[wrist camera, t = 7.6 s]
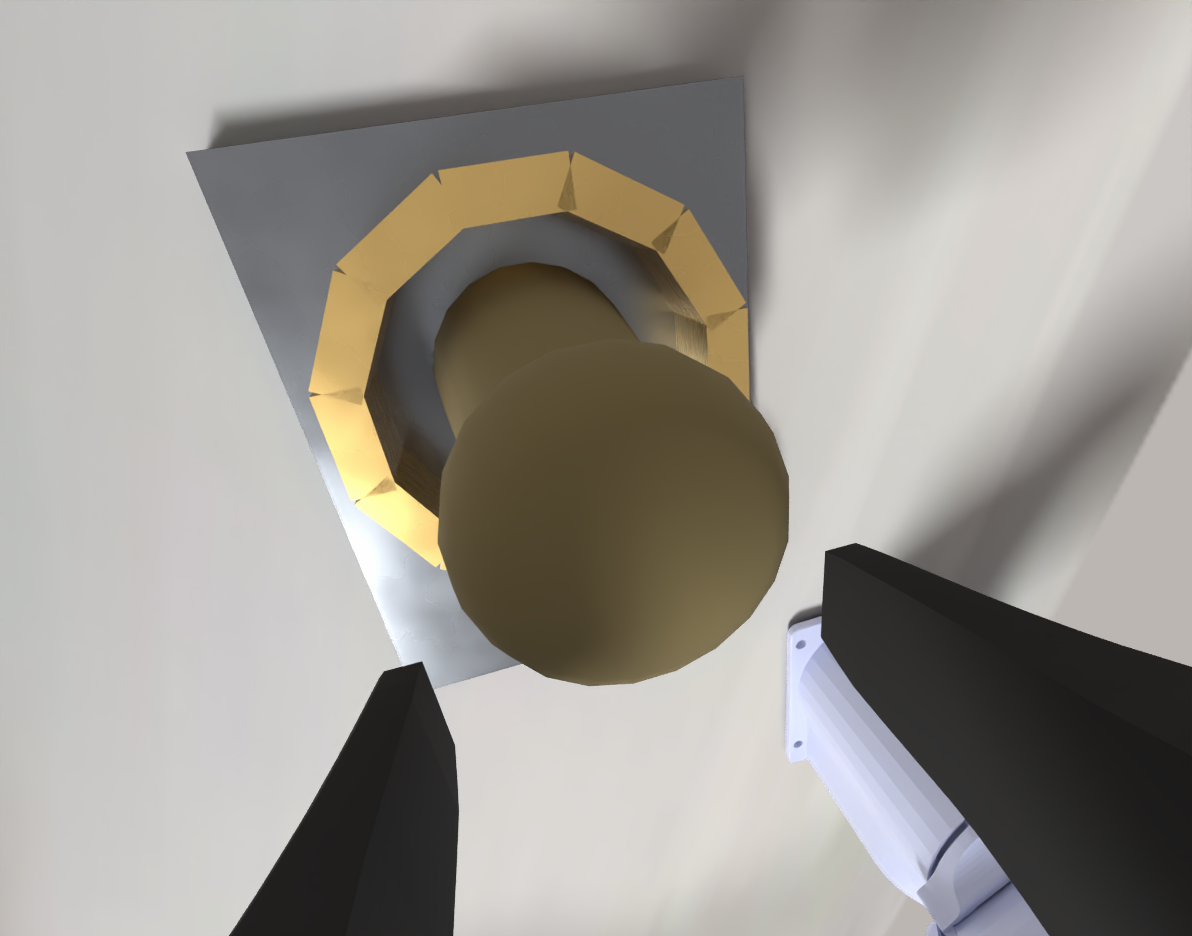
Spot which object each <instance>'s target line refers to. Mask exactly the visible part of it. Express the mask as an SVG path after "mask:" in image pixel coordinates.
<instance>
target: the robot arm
mask: <svg viewBox="0 0 1192 936" xmlns="http://www.w3.org/2000/svg"><path fill="white" fill-rule="evenodd" d="M786 756H787V758H788V760H789V761H790V762H793V763H796V762H800V761H803V760H806V759H808V760H809V762H810V763H811V765H812V766H813V768H814V769H815V771H816V772H817V774H818V776H819V777H820V779H821V780H822V782H823V783H824V785H825V786H826V788H827V789H828V791H829V792H830V794H831V796H832V797H833V799H834V800H835V802H836V803H837V805H838V806H839V808H840V809H841V811H842V812H843V814H844V816H845V817H846V819H847V820H848V822H849V823H850V825H851V826H852V828H853V829H854V831H855V832H856V834H857V835H858V837H859V839H860V840H861V842H862V843H863V845H864V846H865V848H866V849H867V851H868V852H869V854H870V855H871V857H872V859H873V860H874V862H875V863H876V865H877V866H878V867H879V868H880V870H881V871H882V872H883V874H884V875H885V876H886V877H887V878H888V879H889V880H890V881H891V882H892V883H893V884H894V885H895V886H896V887H897V888H899V889H900V890H901V891H902V892H904V893H905V894H906V895H908V896H909V897H911V898H912V899H914V900H915V901H917V902H918V903H920V904H922V905H924V906H925V907H926V909H927V910H928V912H929V913H930V915H931V916H932V917H933V919H934V920H935V921H934V922H932V923H931V924H930V925H929V926H928V928H927V930H926V936H1192V667H1190V666H1187V665H1184V664H1180V663H1177V662H1174V661H1171V660H1167V659H1164V658H1161V657H1157V656H1155V655H1151V654H1148V653H1145V652H1142V651H1138V650H1135V649H1132V648H1129V647H1125V646H1122V645H1119V644H1116V643H1113V642H1110V641H1107V640H1104V639H1101V638H1098V637H1095V636H1093V635H1090V634H1087V633H1084V632H1081V631H1078V630H1076V629H1073V628H1070V627H1067V626H1064V625H1061V624H1059V623H1056V622H1054V621H1051V620H1048V619H1045V618H1043V617H1040V616H1037V615H1034V614H1032V613H1029V612H1027V611H1024V610H1021V609H1019V608H1016V607H1014V606H1011V605H1008V604H1006V603H1003V602H1001V601H998V600H996V599H993V598H991V597H988V596H986V595H983V594H981V593H978V592H976V591H973V590H971V589H969V588H966V587H964V586H961V585H959V584H956V583H954V582H952V581H949V580H947V579H944V578H942V577H940V576H937V575H935V574H932V573H930V572H928V571H925V570H923V569H920V568H918V567H916V566H913V565H911V564H908V563H906V562H904V561H901V560H899V559H896V558H894V557H891V556H889V555H886V554H884V553H881V552H879V551H876V550H874V549H871V548H868V547H866V546H863V545H860V544H857V543H854V544H850V545H847V546H843V547H839V548H836V549H832V550H828V551H825V566H824V584H823V602H822V616H820V617H817V618H813V619H810V620H807V621H803V622H800V623H797V624H794V625H793V626H792V627H790V629H789V630H788V634H787V690H786ZM458 820H459V804H458V785H457V769H456V754H455V744H454V742H453V739H452V737H451V734H450V731H449V729H448V726H447V724H446V721H445V719H444V716H443V713H442V711H441V708H440V706H439V703H438V700H437V698H436V695H435V693H434V690H433V688H432V685H431V682H430V680H429V677H428V675H427V672H426V669H425V667H424V664H423V662H422V661H421V662H417V663H413V664H410V665H406V666H402V667H399V668H395V669H391V670H388V671H384V672H383V674H382V675H381V677H380V678H379V680H378V682H377V684H376V685H375V687H374V689H373V691H372V693H371V695H370V697H369V699H368V701H367V703H366V705H365V707H364V709H363V711H362V713H361V714H360V716H359V718H358V720H357V722H356V724H355V726H354V728H353V730H352V732H351V733H350V735H349V737H348V739H347V741H346V743H345V745H344V747H343V748H342V750H341V752H340V754H339V756H338V758H337V760H336V761H335V763H334V765H333V767H332V768H331V770H330V772H329V774H328V775H327V777H326V779H325V781H324V783H323V784H322V786H321V788H320V790H319V791H318V793H317V795H316V797H315V799H314V800H313V802H312V804H311V806H310V807H309V809H308V811H307V813H306V814H305V816H304V818H303V819H302V821H301V823H300V824H299V826H298V828H297V829H296V831H295V833H294V834H293V836H292V837H291V839H290V841H289V842H288V844H287V846H286V847H285V849H284V850H283V852H282V854H281V855H280V857H279V859H278V860H277V862H276V863H275V865H274V867H273V868H272V870H271V872H270V873H269V875H268V876H267V878H266V880H265V881H264V883H263V885H262V886H261V888H260V889H259V891H258V892H257V894H256V896H255V897H254V899H253V900H252V902H251V903H250V905H249V906H248V908H247V909H246V911H245V912H244V914H243V915H242V917H241V918H240V920H239V922H238V923H237V925H236V926H235V928H234V929H233V931H232V932H231V934H230V935H229V936H453V928H454V908H455V887H456V867H457V844H458Z"/></svg>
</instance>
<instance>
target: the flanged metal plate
mask: <svg viewBox="0 0 1192 936" xmlns="http://www.w3.org/2000/svg"><path fill="white" fill-rule="evenodd" d="M186 154H187V157H188V159H189V161H190V164H191V166H192V169H193V171H194V173H195V176H196V178H197V180H198V183H199V185H200V188H201V190H202V192H203V195H204V197H205V199H206V202H207V204H208V206H209V209H210V211H211V214H212V216H213V218H214V221H215V223H216V225H217V228H218V230H219V233H220V235H221V237H222V240H223V242H224V244H225V247H226V249H227V251H228V254H229V256H230V259H231V261H232V263H233V266H234V268H235V270H236V273H237V275H238V277H239V280H240V282H241V285H242V287H243V289H244V292H245V294H246V296H247V299H248V301H249V304H250V306H251V308H252V311H253V313H254V315H255V318H256V320H257V322H258V325H259V327H260V330H261V332H262V334H263V337H264V339H265V341H266V344H267V346H268V349H269V351H270V353H271V356H272V358H273V360H274V363H275V365H276V367H277V370H278V372H279V375H280V377H281V379H282V382H283V384H284V386H285V389H286V391H287V394H288V396H289V398H290V401H291V403H292V405H293V408H294V410H295V412H296V415H297V417H298V420H299V422H300V424H301V427H302V429H303V431H304V434H305V436H306V439H307V441H308V443H309V446H310V448H311V450H312V453H313V455H314V457H315V460H316V462H317V465H318V467H319V469H320V472H321V474H322V476H323V479H324V481H325V483H326V486H327V488H328V491H329V493H330V495H331V498H332V500H333V502H334V505H335V507H336V510H337V512H338V514H339V517H340V519H341V521H342V524H343V526H344V528H345V531H346V533H347V536H348V538H349V540H350V543H351V545H352V547H353V550H354V552H355V555H356V557H357V559H358V562H359V564H360V566H361V569H362V571H363V573H364V576H365V578H366V581H367V583H368V585H369V588H370V590H371V592H372V595H373V597H374V600H375V602H376V604H377V607H378V609H379V611H380V614H381V616H382V618H383V621H384V623H385V626H386V628H387V630H388V633H389V635H390V637H391V640H392V642H393V645H394V647H395V649H396V652H397V654H398V656H399V659H400V661H401V663H402V666H406V665H410V664H413V663H417V662H421V661H422V662H423V664H424V667H425V669H426V672H427V675H428V677H429V680H430V682H431V685H432V688H433V689H436V688H439V687H443V686H446V685H450V684H453V683H457V682H460V681H464V680H467V679H471V678H474V677H477V676H481V675H484V674H488V673H491V672H495V671H498V670H502V669H505V668H509V667H512V666H516V665H519V664H522V663H520V662H519V661H517V660H515V659H513V658H512V657H510V656H508V655H507V654H505V653H504V652H502V651H501V650H499V649H498V648H497V647H495V646H494V645H492V644H491V643H490V642H489V641H488V639H487V638H486V637H485V636H484V635H483V633H482V632H481V631H480V630H479V629H478V628H477V626H476V625H475V624H474V623H473V622H472V621H471V619H470V618H469V617H468V616H467V615H466V613H465V612H464V611H463V610H462V608H461V606H460V604H459V601H458V599H457V597H456V595H455V592H454V590H453V587H452V584H451V581H450V578H449V575H448V572H447V569H446V566H445V563H444V560H443V557H442V555H441V552H440V549H439V546H438V543H437V542H438V524H439V506H440V489H441V479H442V471H443V469H444V466H445V464H446V462H447V460H448V457H449V455H450V453H451V450H452V448H453V446H454V444H455V441H456V438H455V436H454V433H453V431H452V428H451V425H450V423H449V420H448V418H447V415H446V412H445V410H444V407H443V405H442V402H441V398H440V395H439V391H438V388H437V384H436V381H435V378H434V374H433V365H434V343H435V338H436V336H437V333H438V331H439V328H440V326H441V323H442V321H443V318H444V316H445V313H446V311H447V309H448V308H449V307H450V306H451V305H452V303H453V302H454V301H455V300H456V299H457V298H458V297H459V295H460V294H461V293H462V292H463V291H464V290H465V288H466V287H467V286H468V285H469V284H471V283H472V282H474V281H476V280H478V279H480V278H481V277H483V276H485V275H487V274H488V273H490V272H492V271H494V270H495V269H497V268H500V267H505V266H511V265H517V264H522V263H528V262H536V263H542V264H549V265H555V266H561V267H565V268H567V269H569V270H571V271H573V272H575V273H577V274H579V275H580V276H582V277H584V278H586V279H588V280H590V281H592V282H593V283H594V284H595V285H596V286H597V287H598V288H599V289H600V290H601V291H602V292H603V293H604V294H605V296H606V297H607V298H608V299H609V300H610V301H611V302H612V303H613V304H614V305H615V306H616V308H617V309H618V311H619V312H620V313H621V315H622V316H623V318H624V319H625V321H626V322H627V323H628V325H629V326H630V328H631V329H632V330H633V332H634V333H635V335H636V336H637V337H638V339H639V340H640V342H646V343H654V344H662V345H667V346H669V347H671V348H673V349H675V350H677V351H679V352H681V353H683V354H685V355H686V356H688V357H690V358H692V359H694V360H696V361H698V362H700V363H702V364H704V365H706V366H708V367H710V368H712V369H714V370H715V371H717V372H719V373H721V374H723V375H725V376H727V377H729V378H730V379H731V381H732V382H733V383H734V384H735V385H736V386H737V387H738V389H739V390H740V391H741V392H742V393H743V394H744V395H745V397H746V398H747V399H748V400H749V401H750V372H749V324H748V277H747V229H746V181H745V133H744V85H743V76H738V77H730V78H723V79H716V80H709V81H701V82H694V83H687V84H679V85H672V86H665V87H658V88H650V89H643V90H636V91H628V92H621V93H614V94H607V95H599V96H592V97H585V98H577V99H570V100H563V101H556V102H548V103H541V104H534V105H526V106H519V107H512V108H505V109H497V110H490V111H483V112H475V113H468V114H461V115H454V116H446V117H439V118H432V119H424V120H417V121H410V122H403V123H395V124H388V125H381V126H373V127H366V128H359V129H352V130H344V131H337V132H330V133H322V134H315V135H308V136H301V137H293V138H286V139H279V140H271V141H264V142H257V143H250V144H242V145H235V146H228V147H220V148H213V149H206V150H199V151H191V152H186Z"/></svg>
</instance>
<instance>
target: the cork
mask: <svg viewBox="0 0 1192 936" xmlns="http://www.w3.org/2000/svg"><path fill="white" fill-rule="evenodd" d="M433 374H434V378H435V381H436V384H437V388H438V391H439V395H440V398H441V402H442V405H443V407H444V410H445V412H446V415H447V418H448V420H449V423H450V425H451V428H452V431H453V433H454V436H455V438H456V441H455V444H454V446H453V448H452V450H451V453H450V455H449V457H448V460H447V462H446V464H445V466H444V469H443V471H442V479H441V489H440V506H439V524H438V542H437V543H438V546H439V549H440V552H441V555H442V557H443V560H444V563H445V566H446V569H447V572H448V575H449V578H450V581H451V584H452V587H453V590H454V592H455V595H456V597H457V599H458V601H459V604H460V606H461V608H462V610H463V611H464V612H465V613H466V615H467V616H468V617H469V618H470V619H471V621H472V622H473V623H474V624H475V625H476V626H477V628H478V629H479V630H480V631H481V632H482V633H483V635H484V636H485V637H486V638H487V639H488V641H489V642H490V643H491V644H492V645H494V646H495V647H497V648H498V649H499V650H501V651H502V652H504V653H505V654H507V655H508V656H510V657H512V658H513V659H515V660H517V661H519V662H520V663H522V664H524V665H526V666H528V667H529V668H531V669H533V670H535V671H536V672H538V673H540V674H542V675H544V676H545V677H548V678H553V679H558V680H562V681H567V682H572V683H577V684H581V685H586V686H599V685H616V684H633V683H637V682H640V681H643V680H647V679H650V678H653V677H657V676H660V675H663V674H667V673H670V672H673V671H676V670H678V669H680V668H682V667H684V666H685V665H687V664H689V663H691V662H693V661H694V660H696V659H698V658H700V657H701V656H703V655H705V654H707V653H708V652H710V651H712V650H714V649H716V648H717V647H718V646H719V645H720V644H721V643H722V642H724V641H725V640H726V639H727V638H728V637H729V636H730V635H731V634H732V633H733V632H735V631H736V630H737V629H738V628H739V627H740V626H741V625H742V624H743V623H744V622H746V621H747V620H748V619H749V618H750V617H751V615H752V614H753V612H754V611H755V609H756V608H757V606H758V605H759V603H760V602H761V600H762V599H763V597H764V596H765V595H766V593H767V592H768V590H769V589H770V587H771V586H772V584H773V583H774V581H775V578H776V575H777V572H778V570H779V567H780V564H781V561H782V558H783V555H784V552H785V549H786V546H787V543H788V531H789V476H788V473H787V470H786V467H785V465H784V462H783V459H782V456H781V453H780V451H779V448H778V445H777V442H776V439H775V436H774V434H773V432H772V430H771V429H770V427H769V426H768V424H767V423H766V421H765V419H764V418H763V416H762V415H761V414H760V412H759V411H758V410H757V409H756V408H755V407H754V406H753V405H752V403H751V402H750V401H749V400H748V399H747V398H746V397H745V395H744V394H743V393H742V392H741V391H740V390H739V389H738V387H737V386H736V385H735V384H734V383H733V382H732V381H731V379H730V378H729V377H727V376H725V375H723V374H721V373H719V372H717V371H715V370H714V369H712V368H710V367H708V366H706V365H704V364H702V363H700V362H698V361H696V360H694V359H692V358H690V357H688V356H686V355H685V354H683V353H681V352H679V351H677V350H675V349H673V348H671V347H669V346H667V345H662V344H654V343H646V342H640V340H639V339H638V337H637V336H636V335H635V333H634V332H633V330H632V329H631V328H630V326H629V325H628V323H627V322H626V321H625V319H624V318H623V316H622V315H621V313H620V312H619V311H618V309H617V308H616V306H615V305H614V304H613V303H612V302H611V301H610V300H609V299H608V298H607V297H606V296H605V294H604V293H603V292H602V291H601V290H600V289H599V288H598V287H597V286H596V285H595V284H594V283H593V282H592V281H590V280H588V279H586V278H584V277H582V276H580V275H579V274H577V273H575V272H573V271H571V270H569V269H567V268H565V267H561V266H555V265H549V264H542V263H536V262H528V263H522V264H517V265H511V266H505V267H500V268H497V269H495V270H494V271H492V272H490V273H488V274H487V275H485V276H483V277H481V278H480V279H478V280H476V281H474V282H472V283H471V284H469V285H468V286H467V287H466V288H465V290H464V291H463V292H462V293H461V294H460V295H459V297H458V298H457V299H456V300H455V301H454V302H453V303H452V305H451V306H450V307H449V308H448V309H447V311H446V313H445V316H444V318H443V321H442V323H441V326H440V328H439V331H438V333H437V336H436V338H435V343H434V365H433Z"/></svg>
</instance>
